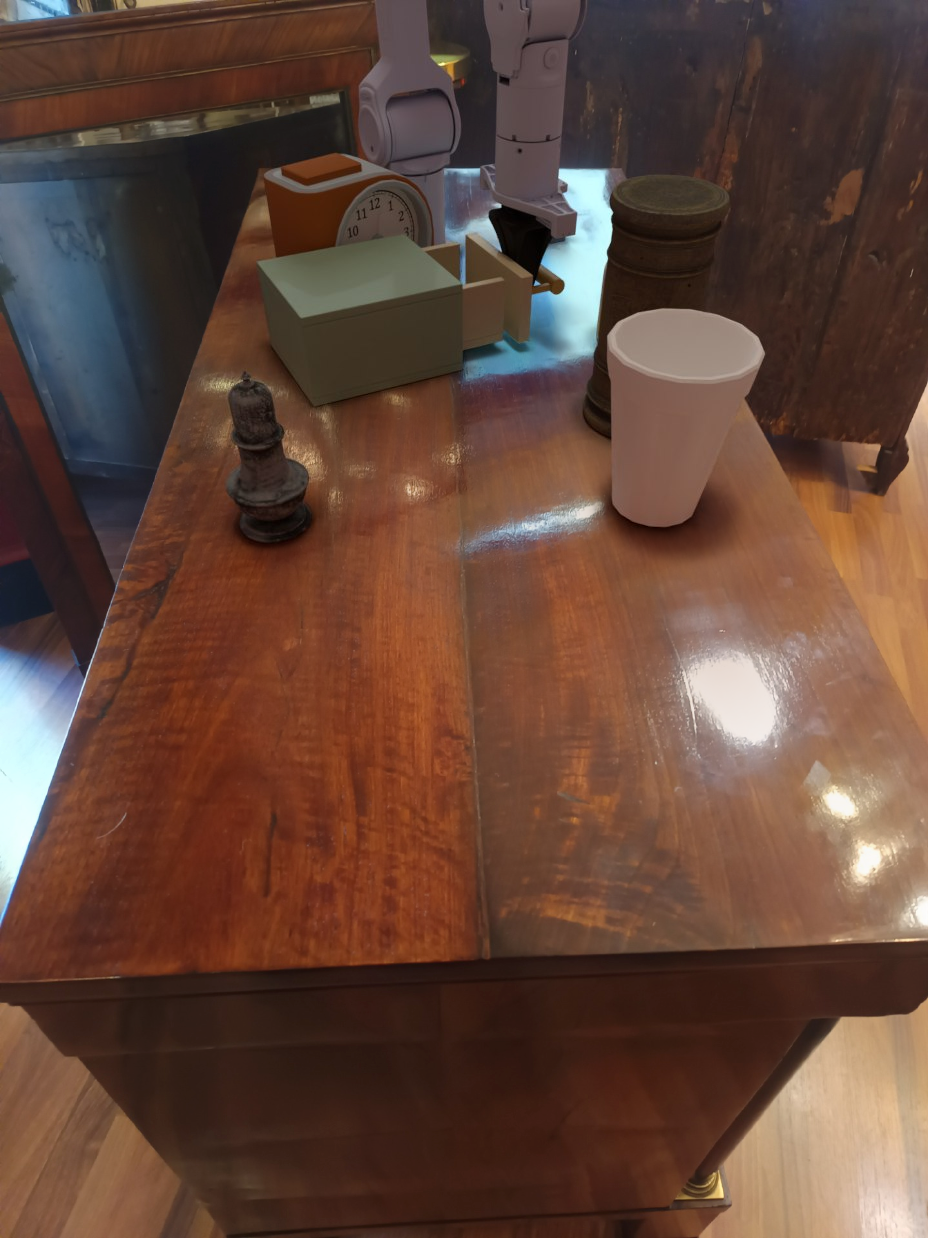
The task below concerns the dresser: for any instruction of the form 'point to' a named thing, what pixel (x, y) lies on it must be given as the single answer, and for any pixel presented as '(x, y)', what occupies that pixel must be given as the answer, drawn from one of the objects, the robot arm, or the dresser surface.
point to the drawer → (493, 290)
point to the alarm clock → (342, 205)
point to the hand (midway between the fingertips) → (521, 287)
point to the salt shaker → (264, 468)
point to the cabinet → (362, 317)
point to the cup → (673, 406)
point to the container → (653, 261)
